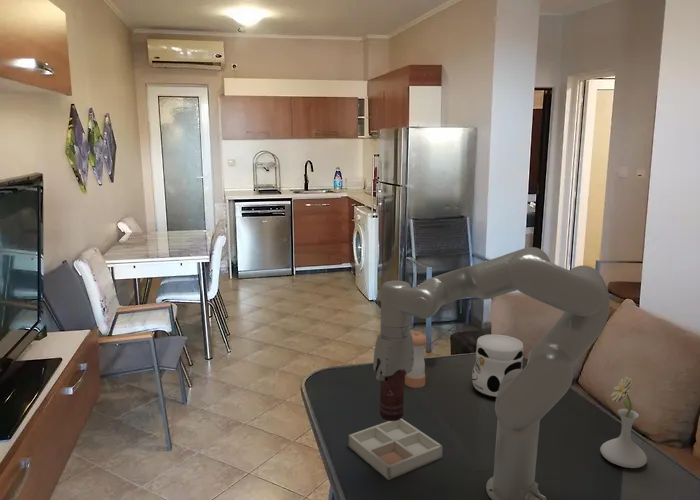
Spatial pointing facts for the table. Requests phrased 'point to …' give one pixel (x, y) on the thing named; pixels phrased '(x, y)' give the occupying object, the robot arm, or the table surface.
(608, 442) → the flower in vase
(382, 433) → the divided tray
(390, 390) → the can
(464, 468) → the table surface
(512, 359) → the milk container
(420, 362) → the pepper shaker
